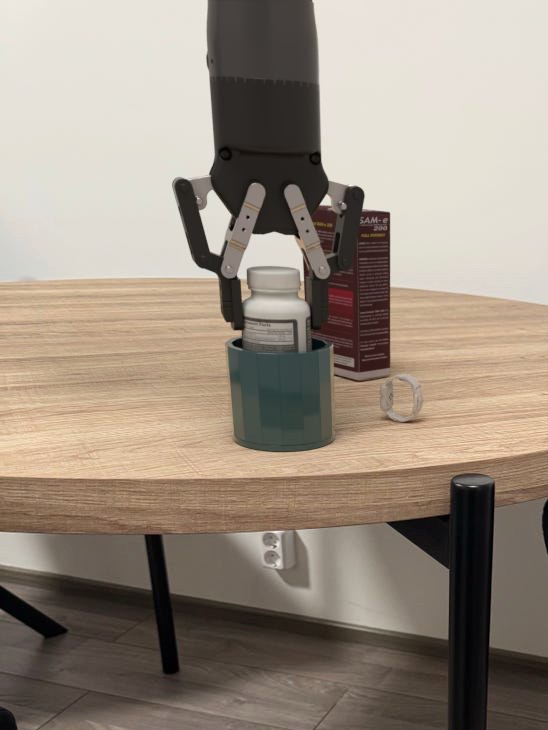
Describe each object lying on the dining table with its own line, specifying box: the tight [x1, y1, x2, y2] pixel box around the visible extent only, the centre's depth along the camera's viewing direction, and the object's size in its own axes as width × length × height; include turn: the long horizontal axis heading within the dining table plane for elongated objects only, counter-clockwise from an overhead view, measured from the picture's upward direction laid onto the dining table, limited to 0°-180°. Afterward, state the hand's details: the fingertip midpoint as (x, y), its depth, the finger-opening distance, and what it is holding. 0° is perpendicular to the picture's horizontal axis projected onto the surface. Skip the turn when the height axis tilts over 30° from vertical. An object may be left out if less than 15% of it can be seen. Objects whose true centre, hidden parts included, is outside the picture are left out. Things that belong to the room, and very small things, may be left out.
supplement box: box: [302, 204, 391, 382], centre depth 96 cm, size 9×5×16 cm, turn 48°
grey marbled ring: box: [379, 373, 425, 423], centre depth 83 cm, size 4×2×4 cm, turn 73°
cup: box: [224, 335, 336, 452], centre depth 76 cm, size 8×8×8 cm
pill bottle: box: [240, 265, 312, 353], centre depth 73 cm, size 5×5×10 cm
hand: (276, 327), depth 73 cm, fingers closed on pill bottle, 5 cm apart
